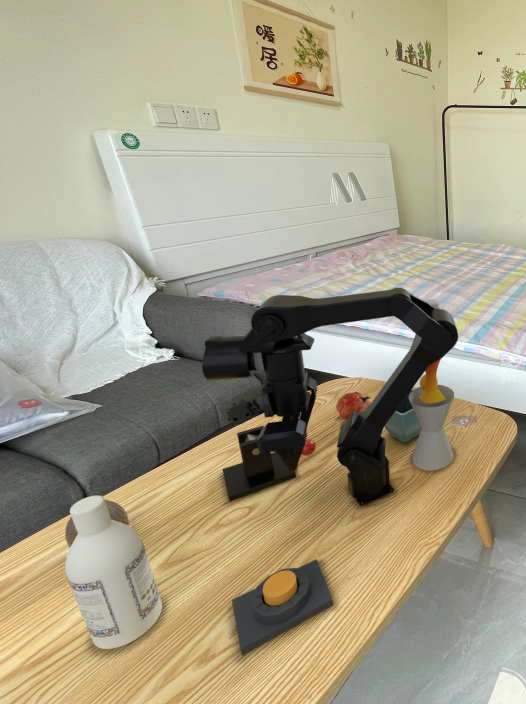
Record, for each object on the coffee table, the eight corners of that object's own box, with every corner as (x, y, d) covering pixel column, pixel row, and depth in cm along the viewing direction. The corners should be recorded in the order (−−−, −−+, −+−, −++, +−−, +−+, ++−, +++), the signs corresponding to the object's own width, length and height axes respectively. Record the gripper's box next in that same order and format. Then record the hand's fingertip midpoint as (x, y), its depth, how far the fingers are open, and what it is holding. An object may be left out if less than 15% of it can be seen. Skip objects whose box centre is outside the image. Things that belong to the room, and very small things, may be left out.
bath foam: (156, 589, 62) (120, 475, 55) (169, 621, 58) (132, 502, 51) (89, 625, 57) (40, 504, 50) (98, 664, 53) (47, 538, 46)
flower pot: (408, 418, 105) (407, 386, 102) (434, 432, 100) (433, 398, 97) (378, 435, 98) (375, 401, 95) (404, 451, 94) (402, 415, 91)
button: (293, 574, 62) (292, 565, 62) (300, 595, 60) (298, 586, 59) (262, 589, 60) (260, 580, 59) (267, 612, 57) (265, 602, 57)
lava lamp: (461, 461, 91) (462, 304, 80) (420, 476, 86) (415, 312, 75) (443, 439, 98) (442, 291, 87) (405, 451, 93) (397, 297, 82)
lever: (309, 451, 91) (316, 437, 91) (314, 459, 89) (320, 445, 89) (241, 446, 82) (247, 430, 82) (243, 455, 80) (250, 439, 80)
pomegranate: (336, 436, 101) (367, 418, 98) (318, 410, 100) (349, 391, 97) (355, 422, 108) (384, 404, 105) (338, 398, 107) (367, 379, 104)
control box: (317, 565, 67) (315, 550, 66) (333, 605, 61) (331, 589, 60) (233, 606, 60) (229, 590, 59) (242, 655, 54) (238, 639, 53)
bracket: (286, 453, 91) (280, 415, 88) (296, 477, 84) (290, 437, 81) (223, 474, 84) (214, 433, 81) (229, 502, 78) (220, 459, 75)
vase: (97, 569, 64) (80, 523, 61) (60, 559, 66) (42, 513, 63) (144, 532, 71) (131, 489, 68) (110, 524, 72) (95, 481, 69)
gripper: (243, 353, 76) (257, 429, 82) (207, 410, 60) (227, 499, 65) (312, 348, 80) (321, 421, 85) (297, 400, 63) (309, 486, 69)
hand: (296, 452), depth 76 cm, fingers open, 9 cm apart
